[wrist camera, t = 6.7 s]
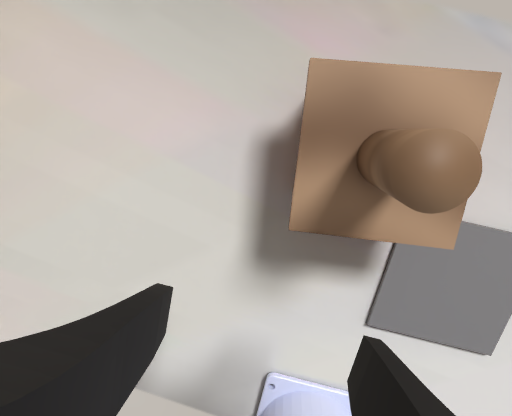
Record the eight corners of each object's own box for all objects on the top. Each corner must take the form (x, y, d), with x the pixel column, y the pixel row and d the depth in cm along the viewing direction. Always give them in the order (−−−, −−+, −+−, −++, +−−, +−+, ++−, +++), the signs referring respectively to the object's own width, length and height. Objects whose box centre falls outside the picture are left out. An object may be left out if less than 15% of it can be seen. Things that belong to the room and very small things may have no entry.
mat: (488, 352, 21) (490, 355, 21) (366, 322, 22) (367, 325, 21) (543, 239, 19) (547, 241, 19) (407, 208, 19) (408, 209, 19)
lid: (445, 243, 16) (533, 306, 10) (288, 225, 16) (289, 274, 11) (489, 75, 14) (629, 37, 8) (309, 61, 14) (323, 17, 9)
